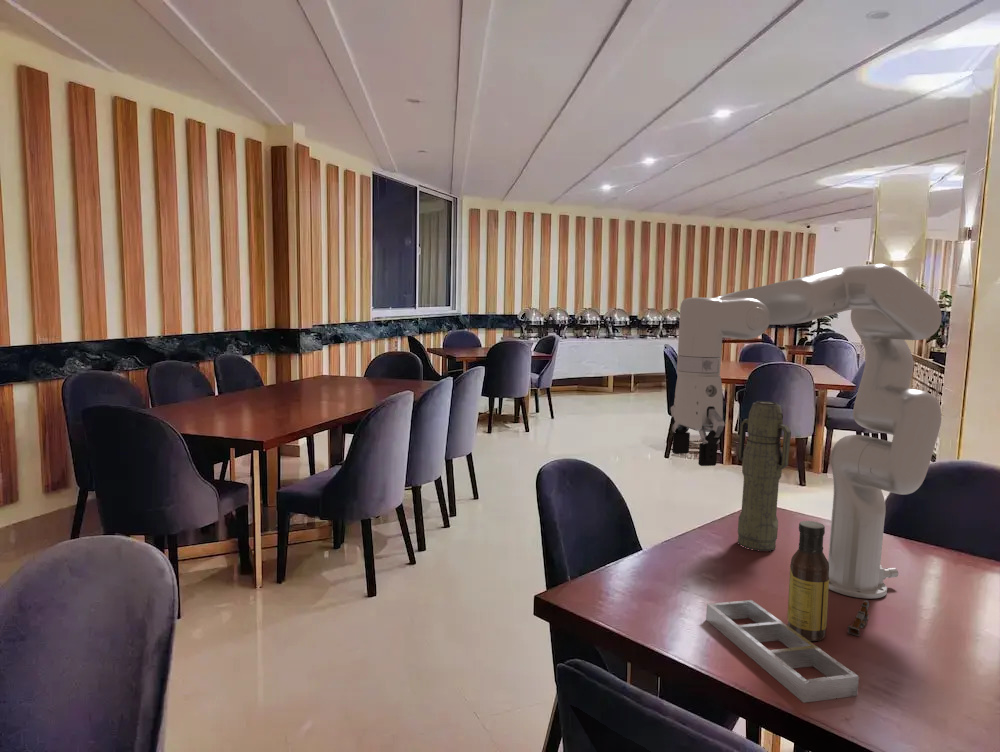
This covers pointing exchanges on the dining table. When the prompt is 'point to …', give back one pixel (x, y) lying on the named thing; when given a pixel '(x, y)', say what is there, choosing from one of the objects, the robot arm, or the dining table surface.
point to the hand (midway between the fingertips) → (693, 459)
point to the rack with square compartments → (782, 651)
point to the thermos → (762, 474)
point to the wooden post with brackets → (860, 619)
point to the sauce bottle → (809, 584)
